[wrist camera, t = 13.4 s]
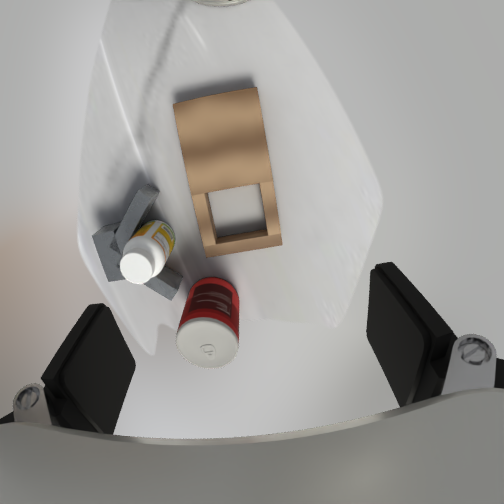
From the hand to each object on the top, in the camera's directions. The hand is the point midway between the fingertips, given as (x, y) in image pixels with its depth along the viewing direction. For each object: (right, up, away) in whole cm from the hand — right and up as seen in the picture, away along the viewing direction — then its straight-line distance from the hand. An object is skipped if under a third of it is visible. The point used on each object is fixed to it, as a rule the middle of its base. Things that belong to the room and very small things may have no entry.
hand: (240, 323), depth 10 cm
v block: (-16, +4, +30) cm, 34 cm away
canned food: (-5, -4, +35) cm, 35 cm away
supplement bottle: (-13, +5, +30) cm, 33 cm away
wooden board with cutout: (-2, +13, +27) cm, 30 cm away
